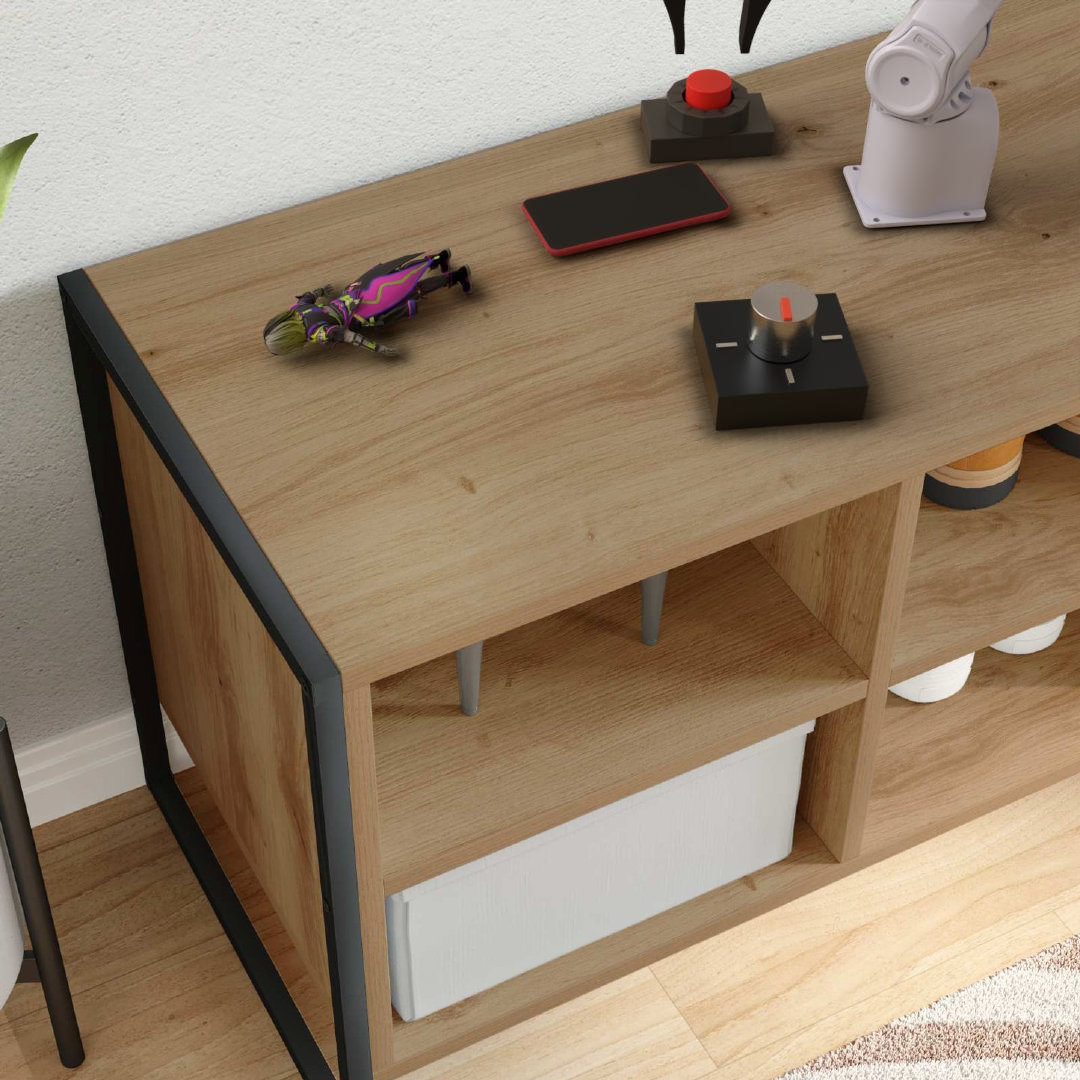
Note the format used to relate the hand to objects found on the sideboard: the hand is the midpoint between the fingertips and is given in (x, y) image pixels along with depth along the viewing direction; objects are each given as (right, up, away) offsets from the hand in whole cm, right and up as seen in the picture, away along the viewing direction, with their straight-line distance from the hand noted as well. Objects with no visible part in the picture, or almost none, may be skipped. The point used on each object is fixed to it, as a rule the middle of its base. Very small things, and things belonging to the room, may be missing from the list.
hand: (711, 47), depth 123 cm
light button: (0, -3, +3) cm, 5 cm away
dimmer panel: (+3, -27, -15) cm, 31 cm away
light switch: (0, -6, +6) cm, 8 cm away
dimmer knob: (+3, -25, -17) cm, 30 cm away
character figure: (-26, -23, -10) cm, 36 cm away
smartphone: (-7, -13, -1) cm, 15 cm away
